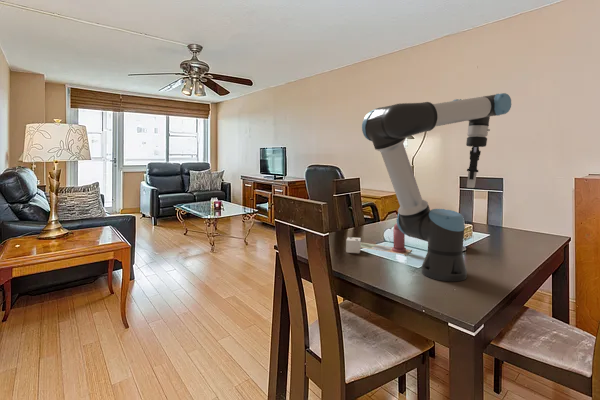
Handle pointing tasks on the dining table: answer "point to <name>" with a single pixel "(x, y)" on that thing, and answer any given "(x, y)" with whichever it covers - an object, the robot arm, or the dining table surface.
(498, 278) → the dining table surface
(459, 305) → the dining table surface
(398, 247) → the dildo
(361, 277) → the dining table surface
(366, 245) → the game board
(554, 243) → the dining table surface
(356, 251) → the die
